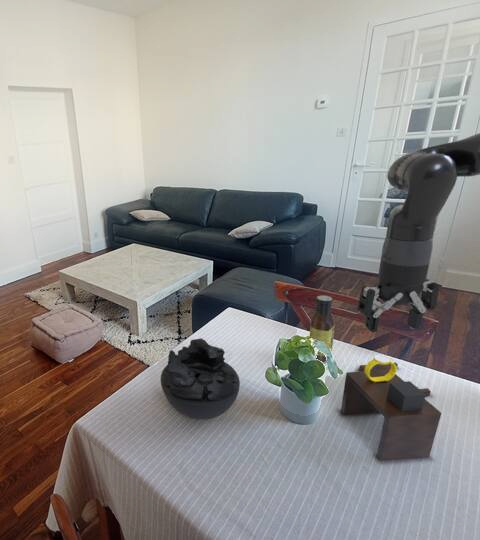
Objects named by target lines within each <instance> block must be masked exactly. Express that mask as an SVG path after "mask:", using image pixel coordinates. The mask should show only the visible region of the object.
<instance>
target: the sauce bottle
mask: <svg viewBox="0 0 480 540" xmlns="http://www.w3.org/2000/svg"><path fill="white" fill-rule="evenodd" d="M315 301H316V308H315V312H314V313H313V314H312V315H311V317H310V318H311V319H310V326H309V337H310V336H311V337H312V338H313V339H316V340H318V341H321V342H324V343H325V344H326V345H327V346H329V348H330V349H331V351H332V352H333V345H334V335H335V323H336V322H335V319H334V317H333V316H334V315H333V313H332V304H333V298H332V297H331V296H329V295H325V294H324V295H318V296H316V299H315ZM317 359H318V360H317ZM315 360H317V361H327V360H326V357H325V355H324V354H323V353H321V352H319V351H318V355H317V358H316V359H315Z"/></svg>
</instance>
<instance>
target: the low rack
mask: <svg viewBox="0 0 480 540" xmlns="http://www.w3.org/2000/svg"><path fill="white" fill-rule="evenodd" d="M393 363H394V364H395V365H396V367H397V368H398V365H399V364H398V363H397V362H393ZM366 365H367V364H361V365H359V367H358V371H364V370H365V366H366ZM383 369H391V364H390V363H389V364H386V365H383V364H376V365H374V366H373V367H372V369H371V370H383ZM371 370H370V371H371ZM419 389H420V390H421V391H422V392H423V393H424V394H426V395H425V397H427V396H430V395H431V392H432V391H431V390H430V389H429V388H427V387H426V388H419Z"/></svg>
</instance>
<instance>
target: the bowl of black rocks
mask: <svg viewBox="0 0 480 540" xmlns="http://www.w3.org/2000/svg"><path fill="white" fill-rule="evenodd" d="M225 353H226V352H225V350H224V349H223V348H221V347H218V346H213V345H211V344H209V343H208V342H207V341H206V340H205V339H203V338H202V337H201V338H194V339H191V340H190V343H189V345H188V347H187V346H182V348H181V349H179V350H178V351H177V354H176V352H175V351H174V350H173V349H170V350H169V352H168V356H167V365H165V367H163V369H162V370H161V373H160V386H161V389H162V392H163V394H164V396H165V399H166V400H167V402H169V404H170V405H171V406H172V408H174V409H175V410H177V412H179V413H180V414H182V415H184V416H185V417H188V418H191V419H193V420H194V419H195V420H212V419H216V418H217V417H220V416H222V415H223V414H225V413H226V412H227V411H228V410H230V408H231V407H232V406H233V405H234V403H235V401H236V400H237V397H238V396H239V392H240V385H241V380H240V377H239V374H238V373H237V371H236V370H235V368H233V367H232V365H230V364H229V363H228V362H226V361H225V360H226V358H225V357H224V356H225Z"/></svg>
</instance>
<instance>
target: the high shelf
mask: <svg viewBox="0 0 480 540" xmlns="http://www.w3.org/2000/svg"><path fill="white" fill-rule="evenodd" d="M389 371H390V369H383V370H371V371H370V374H369V375H370V377H372V378H373V377H381V376H385V375H386V374H388V373H389ZM395 382H405V380H404V379H402V378H401V377H400V376H399V375H398V374H397V373H396V374H395V375H394V377H393V378H391V379H390V380H389V381H381V382H373V381H371V380H370V379H369V378H368V377H367V376H366V374H365V372H364V371H360V370H358V371H349V372H346V373H345V379H344V386H343V392H342V393H343V394H342V400H341V406H340V413H341V414H342V415H343V416H351V415H352V416H353V415H364V414H367V415H368V414H377V413H379V414H381V416H383V417H384V418H383V423H382V428H381V432H380V438H379V441H378V447H377V452H376V457H377V459H378V460H379V461H380V462H383V461H384V462H385V461H398V460H399V461H400V460H411V459H412V460H415V459H425V458H426V459H427V458H430V457H431V452H432V449H433V445H434V441H435V438H436V435H437V431H438V427H439V424H440V420H441V418H442V412H441V411H440V410H439V409H438V408H437V407H435V406H434V405H433V404H432V403H430V401H428V400H427V399H426V398H425V399H424V403H423V407H422V410H420V411H407V412H401V411H400V410H399V409H398V408H397V407H396V406H395V405H394V404H393V403H392V402H391V401H390V400H389V399H387V395H388V391H389V386H390V383H395Z"/></svg>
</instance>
